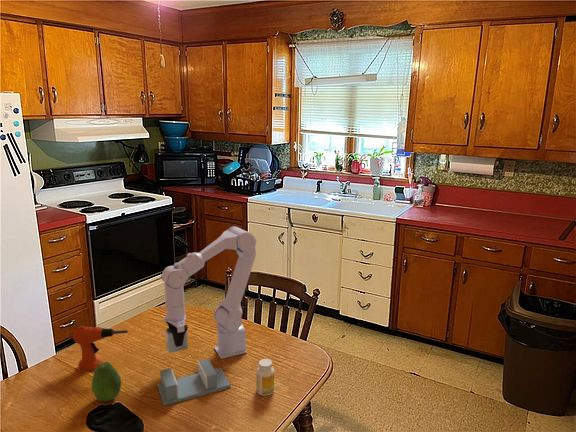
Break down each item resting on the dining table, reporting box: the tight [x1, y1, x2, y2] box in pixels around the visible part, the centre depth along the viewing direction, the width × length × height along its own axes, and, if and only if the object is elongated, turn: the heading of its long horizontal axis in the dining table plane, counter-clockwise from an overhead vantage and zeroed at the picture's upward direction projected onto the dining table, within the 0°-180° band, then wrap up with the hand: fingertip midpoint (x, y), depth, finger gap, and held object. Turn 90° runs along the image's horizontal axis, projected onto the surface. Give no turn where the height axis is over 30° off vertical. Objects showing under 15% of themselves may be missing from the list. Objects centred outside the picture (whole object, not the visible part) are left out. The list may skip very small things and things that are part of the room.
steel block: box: [165, 327, 189, 354], centre depth 140 cm, size 6×4×6 cm, turn 116°
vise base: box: [157, 367, 232, 407], centre depth 132 cm, size 20×10×6 cm, turn 116°
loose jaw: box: [197, 358, 217, 389], centre depth 134 cm, size 3×9×4 cm, turn 26°
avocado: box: [91, 361, 122, 402], centre depth 126 cm, size 8×8×12 cm
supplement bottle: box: [255, 358, 275, 396], centre depth 131 cm, size 5×5×10 cm
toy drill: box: [72, 325, 128, 372], centre depth 141 cm, size 5×19×15 cm, turn 85°
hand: (177, 342), depth 141 cm, fingers closed on steel block, 4 cm apart
